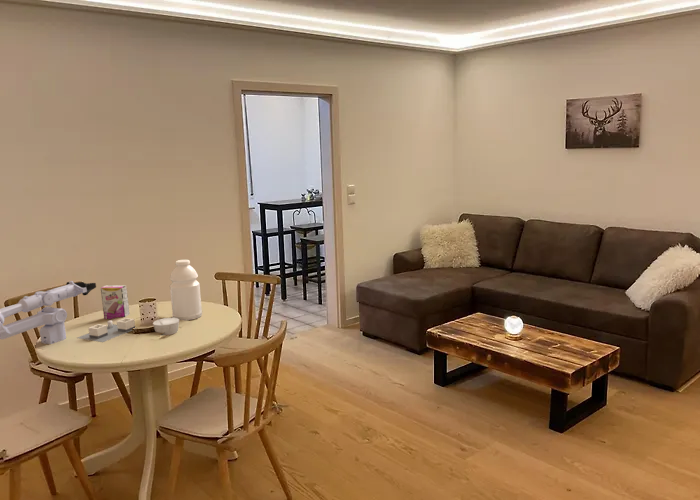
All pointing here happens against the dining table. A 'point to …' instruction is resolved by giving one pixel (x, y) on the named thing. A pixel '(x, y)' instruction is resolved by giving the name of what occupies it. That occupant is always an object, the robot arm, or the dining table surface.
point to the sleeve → (98, 331)
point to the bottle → (185, 292)
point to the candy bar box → (115, 301)
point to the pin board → (112, 333)
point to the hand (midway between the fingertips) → (89, 284)
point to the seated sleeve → (125, 324)
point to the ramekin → (166, 326)
